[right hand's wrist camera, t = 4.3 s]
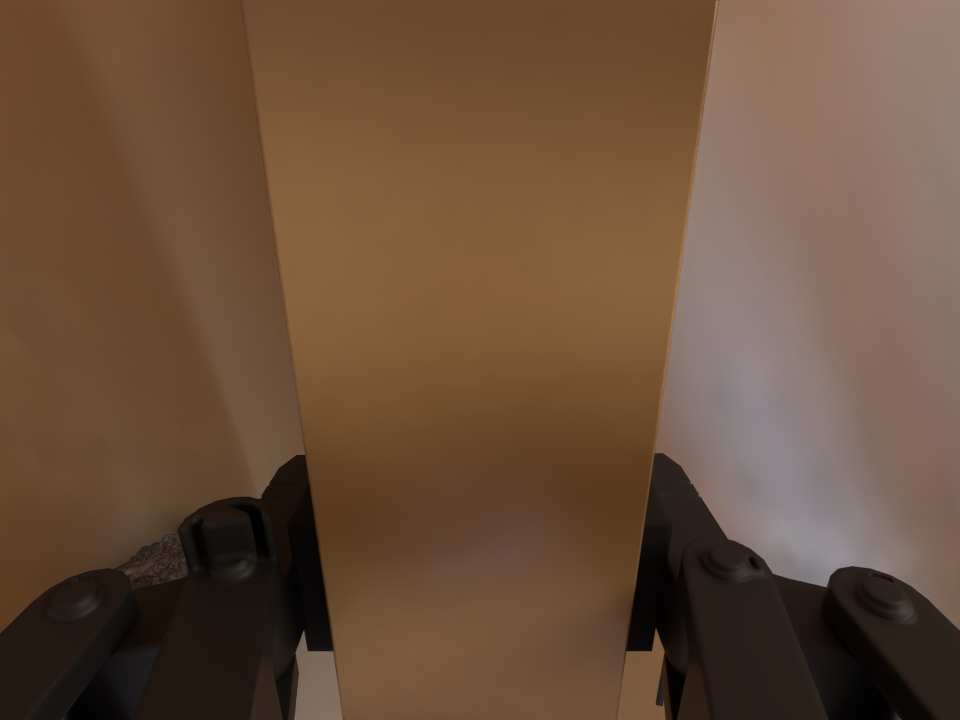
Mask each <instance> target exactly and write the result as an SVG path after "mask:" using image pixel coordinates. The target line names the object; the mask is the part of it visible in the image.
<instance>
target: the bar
mask: <svg viewBox="0 0 960 720" xmlns="http://www.w3.org/2000/svg"><path fill="white" fill-rule="evenodd" d="M718 4H719V0H241V7H242V14H243V21H244V28H245V35H246V42H247V49H248V56H249V63H250V70H251V77H252V84H253V91H254V98H255V106H256V113H257V120H258V127H259V134H260V141H261V148H262V155H263V162H264V169H265V176H266V183H267V190H268V197H269V204H270V211H271V218H272V225H273V232H274V239H275V246H276V253H277V260H278V267H279V274H280V281H281V288H282V295H283V302H284V309H285V316H286V323H287V330H288V337H289V344H290V351H291V358H292V365H293V372H294V379H295V386H296V393H297V400H298V407H299V414H300V421H301V428H302V435H303V442H304V449H305V456H306V463H307V470H308V477H309V484H310V491H311V498H312V505H313V512H314V519H315V526H316V533H317V540H318V547H319V554H320V561H321V568H322V575H323V582H324V589H325V596H326V603H327V610H328V617H329V624H330V631H331V638H332V645H333V652H334V659H335V666H336V673H337V680H338V687H339V694H340V702H341V709H342V716H343V720H617V713H618V706H619V699H620V692H621V685H622V678H623V671H624V663H625V656H626V649H627V642H628V635H629V628H630V621H631V614H632V607H633V600H634V593H635V586H636V579H637V572H638V565H639V558H640V551H641V544H642V537H643V530H644V523H645V516H646V509H647V502H648V495H649V488H650V481H651V474H652V467H653V460H654V453H655V446H656V439H657V432H658V425H659V418H660V411H661V404H662V397H663V390H664V383H665V376H666V369H667V362H668V355H669V348H670V341H671V334H672V327H673V320H674V313H675V306H676V298H677V291H678V284H679V277H680V270H681V263H682V256H683V249H684V242H685V235H686V228H687V221H688V214H689V207H690V200H691V193H692V186H693V179H694V172H695V165H696V158H697V151H698V144H699V137H700V130H701V123H702V116H703V109H704V102H705V95H706V88H707V81H708V74H709V67H710V60H711V53H712V46H713V39H714V32H715V25H716V18H717V11H718Z"/></svg>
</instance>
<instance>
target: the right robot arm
mask: <svg viewBox="0 0 960 720" xmlns="http://www.w3.org/2000/svg"><path fill="white" fill-rule="evenodd" d="M178 533H179V537H180V541H181V545H182V548H183V552H184V556H185V560H186V564H187V567H188V571H189V573H188V575H187V576H186V577H183V578H179V579H176V580H173V581H168V582H164V583H160V584H155V585H151V586H147V587H142V588H138V589H134V590H133V587H132V583H131V580H130V578H129V577H128V576H127V575H126V574H125V573H124V572H123V571H119V570H114V569H101V570H93V571H88V572H85V573H82V574H79V575H76V576H73V577H70V578H68V579H66V580H64V581H63V582H61V583H59V584H57V585H55V586H53V587H51V588H50V589H48V590H47V591H46V592H45V593H43V594H42V595H41V596H39V597H38V598H37V599H36V600H34V601H33V602H32V603H31V604H30V605H29V606H28V607H27V608H26V609H25V610H24V611H23V612H22V613H21V614H20V615H19V616H18V617H17V618H16V619H15V620H14V621H13V622H12V623H11V624H10V625H9V626H8V627H7V628H6V629H5V630H4V631H3V632H2V633H1V634H0V720H294V717H295V707H296V696H297V686H298V676H299V672H298V665H297V659H296V653H295V652H296V650H297V647H298V644H299V641H300V639H301V636H302V633H303V631H305V637H306V643H307V649H308V651H333V645H332V638H331V631H330V624H329V617H328V610H327V603H326V596H325V589H324V582H323V575H322V568H321V561H320V554H319V547H318V540H317V533H316V526H315V519H314V512H313V505H312V498H311V491H310V484H309V477H308V470H307V463H306V456H305V455H296V456H295V457H293V458H292V459H291V460H289V461H288V462H287V463H285V464H284V465H283V466H281V467H280V468H279V469H278V471H277V472H276V474H275V475H274V477H273V478H272V480H271V482H270V485H269V486H267V488H266V489H265V491H264V492H263V494H262V498H261V499H255V498H252V497H232V498H228V499H223V500H219V501H215V502H213V503H211V504H209V505H206V506H204V507H202V508H199V509H198V510H197V511H195V512H194V513H193V514H191V515H190V516H188V517H187V518H186V519H185V520H184V521H183V523H182V524H181V525H180V527H179V528H178ZM655 629H657V632H658V634H659V637H660V640H661V642H662V645H663V648H664V651H665V653H664V659H663V665H662V670H661V676H660V681H659V687H658V692H657V699H656V705H659V706H663V701H664V705H665V716H666V720H900V719H901V720H960V631H959V630H958V629H957V628H956V627H955V626H954V625H953V624H952V623H951V622H950V621H949V620H948V619H947V618H946V617H945V616H944V615H943V614H942V613H941V612H940V611H939V610H938V609H937V608H936V607H935V606H934V605H933V604H932V603H931V602H930V601H929V600H928V599H927V598H925V597H924V596H923V595H921V594H920V593H919V592H918V591H916V590H915V589H914V588H913V587H911V586H910V585H908V584H906V583H904V582H902V581H900V580H898V579H897V578H895V577H893V576H891V575H888V574H885V573H882V572H879V571H876V570H873V569H870V568H862V567H854V566H851V567H845V568H840V569H837V570H836V571H835V572H834V573H833V574H832V575H831V576H830V579H829V582H828V585H827V587H823V586H818V585H814V584H810V583H805V582H801V581H796V580H792V579H788V578H784V577H781V576H778V575H775V574H772V572H771V570H770V569H769V567H768V566H767V564H766V563H765V561H764V560H763V559H762V558H761V557H760V556H759V555H757V554H756V553H755V552H754V551H752V550H751V549H750V548H747V547H745V546H743V545H741V544H739V543H737V542H735V541H732V540H728V539H727V537H726V536H725V534H724V532H723V531H722V529H721V528H720V526H719V525H718V523H717V522H716V520H715V519H714V517H713V515H712V514H711V512H710V511H709V509H708V508H707V506H706V505H705V503H704V502H703V500H702V498H701V497H699V496H698V492H697V491H696V489H695V488H694V486H693V485H692V484H690V480H689V478H688V477H687V475H686V474H685V472H684V471H683V469H682V468H681V466H680V465H678V464H677V463H676V462H674V461H673V460H671V459H670V458H669V457H667V456H666V455H665V454H663V453H654V460H653V467H652V474H651V481H650V488H649V495H648V502H647V509H646V516H645V523H644V530H643V537H642V544H641V551H640V558H639V565H638V572H637V579H636V586H635V593H634V600H633V607H632V614H631V621H630V628H629V635H628V642H627V649H626V651H652V647H653V641H654V635H655Z"/></svg>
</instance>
